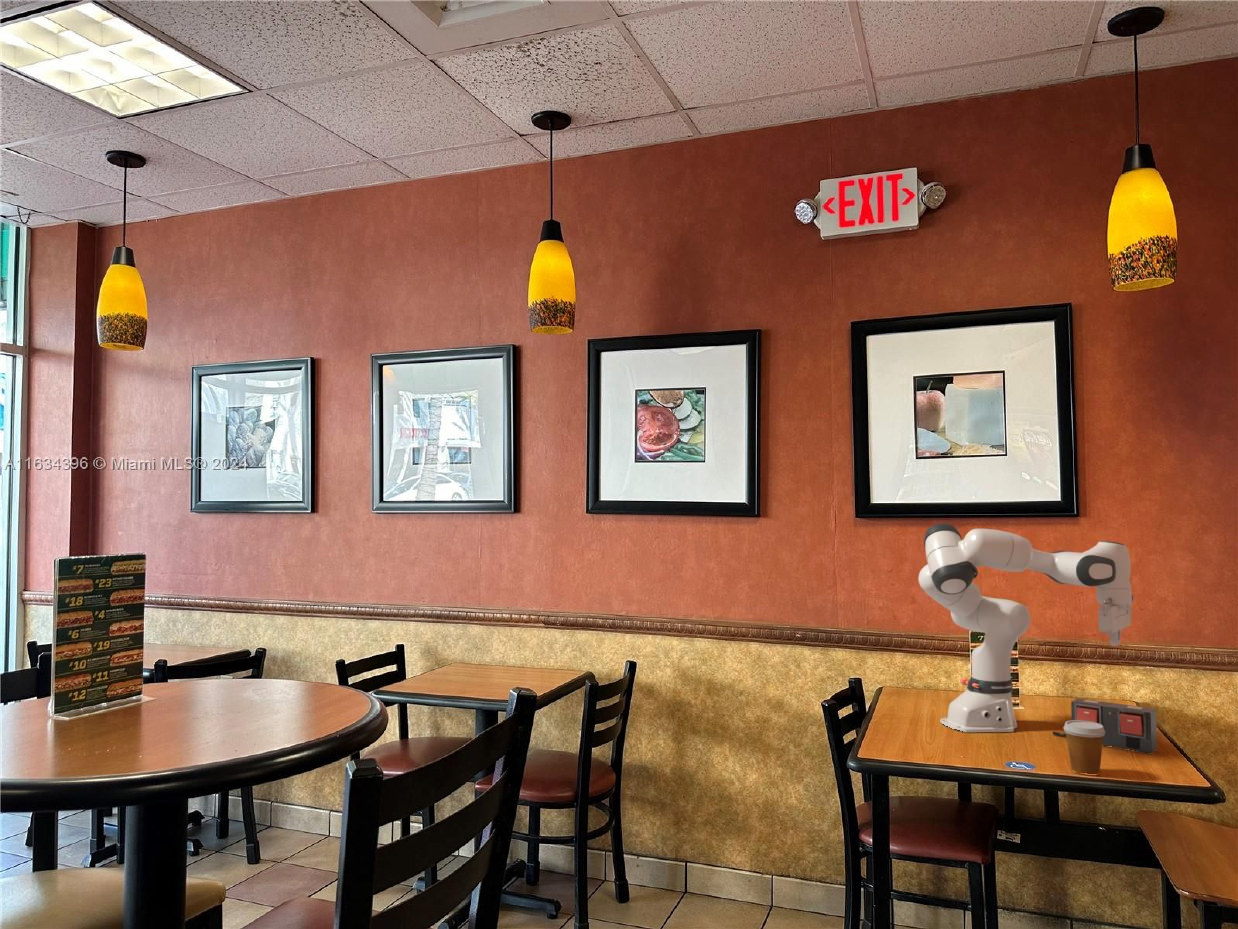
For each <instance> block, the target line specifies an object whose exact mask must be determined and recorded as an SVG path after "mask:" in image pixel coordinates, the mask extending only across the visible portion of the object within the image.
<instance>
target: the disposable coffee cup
mask: <svg viewBox="0 0 1238 929" xmlns="http://www.w3.org/2000/svg"><path fill="white" fill-rule="evenodd" d="M1062 728H1063V730H1064V733H1065V734H1066V737H1065V738H1066V743H1067V750H1068V756H1069V762H1070V769H1071V771H1072V770H1074V771H1076V772H1079V773H1087V774H1098V773H1099V774H1100V772H1101V762H1102V755H1103V746H1102V745H1103V736H1104V734H1105V730H1104V728H1103V725H1101V724H1098V723H1095V722H1090V721H1081V720H1072V719H1071V720H1067V721H1065V723H1064V726H1062Z"/></svg>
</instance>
